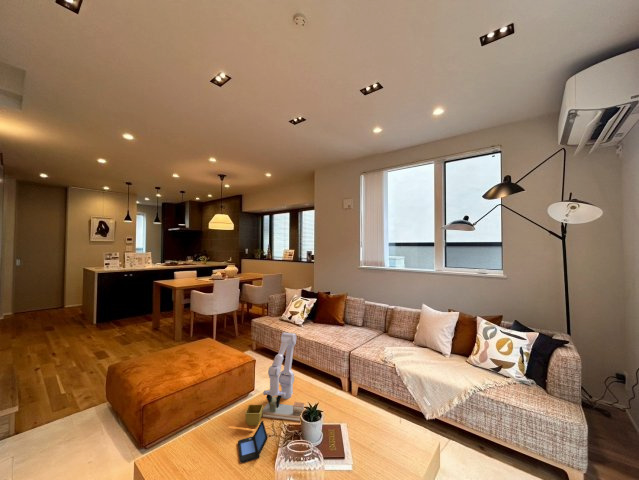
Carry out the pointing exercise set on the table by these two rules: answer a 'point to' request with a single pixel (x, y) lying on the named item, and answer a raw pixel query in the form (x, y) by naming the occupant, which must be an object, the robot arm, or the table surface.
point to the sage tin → (273, 404)
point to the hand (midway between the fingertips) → (274, 406)
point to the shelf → (280, 412)
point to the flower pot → (253, 414)
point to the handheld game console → (252, 445)
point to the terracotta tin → (298, 408)
